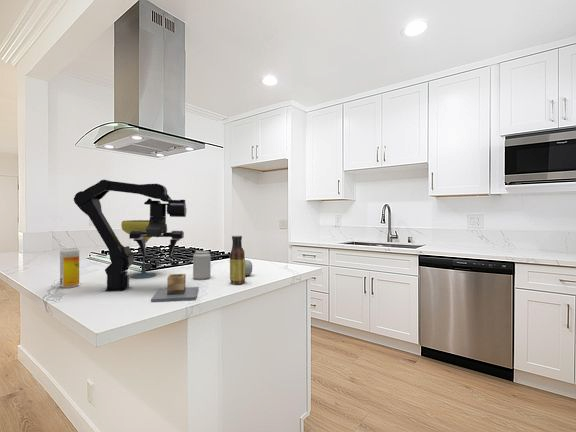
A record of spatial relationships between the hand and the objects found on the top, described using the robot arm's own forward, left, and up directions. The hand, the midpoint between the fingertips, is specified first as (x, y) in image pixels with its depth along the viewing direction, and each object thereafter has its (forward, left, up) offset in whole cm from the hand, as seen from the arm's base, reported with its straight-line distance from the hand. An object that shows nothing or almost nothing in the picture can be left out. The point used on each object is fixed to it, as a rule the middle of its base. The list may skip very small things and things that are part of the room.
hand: (157, 256), depth 118 cm
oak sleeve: (+9, -13, -11) cm, 19 cm away
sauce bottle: (+31, +2, -12) cm, 33 cm away
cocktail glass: (-10, +23, -12) cm, 28 cm away
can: (+16, +14, -12) cm, 25 cm away
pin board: (+9, -13, -12) cm, 19 cm away
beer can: (-33, +7, -12) cm, 36 cm away
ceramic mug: (+33, +18, -12) cm, 40 cm away
